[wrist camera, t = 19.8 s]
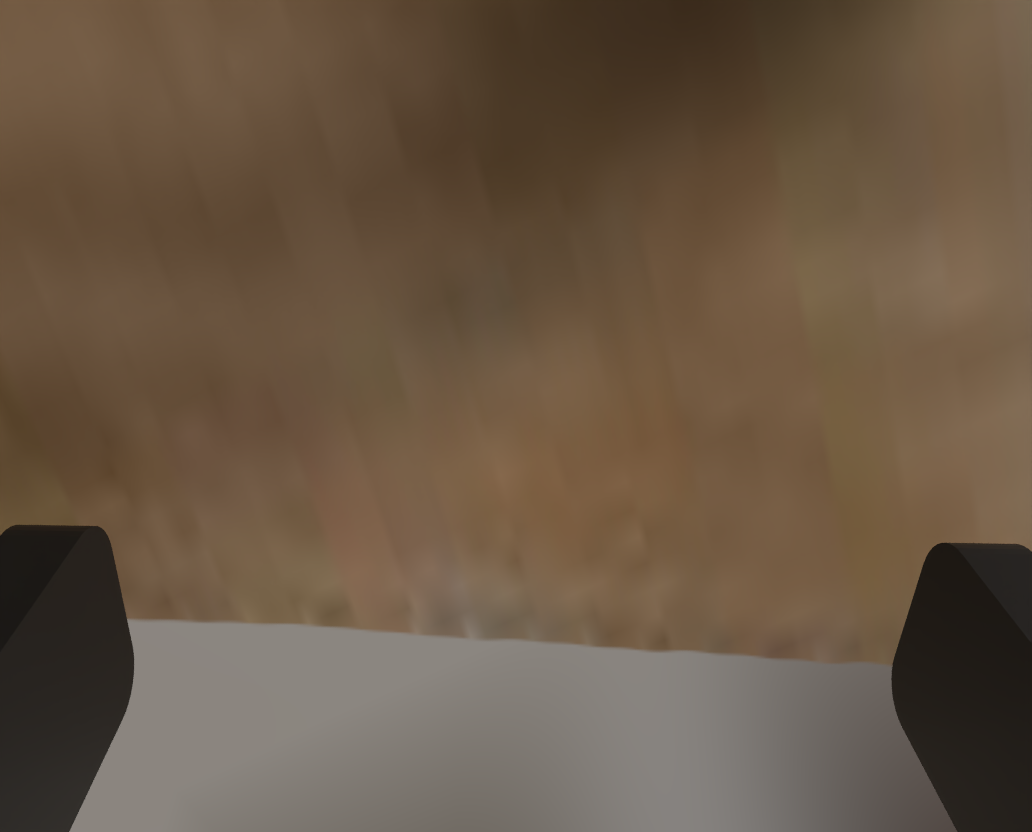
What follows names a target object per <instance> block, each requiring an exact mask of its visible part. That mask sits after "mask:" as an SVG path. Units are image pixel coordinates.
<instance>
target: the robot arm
mask: <svg viewBox="0 0 1032 832" xmlns="http://www.w3.org/2000/svg"><path fill="white" fill-rule="evenodd" d="M133 675H134V653H133V646H132V641H131V636H130V632H129V627H128V622H127V618H126V613H125V608H124V603H123V599H122V594H121V589H120V584H119V580H118V575H117V570H116V565H115V561H114V556H113V551H112V547H111V543H110V540H109V538H108V536H107V534H106V532H105V531H104V530H103V529H102V528H100V527H98V526H55V525H14V526H11V527H10V528H8V529H7V530H5V531H4V532H3V533H2V535H1V536H0V832H69V831H70V829H71V826H72V824H73V822H74V820H75V818H76V816H77V814H78V812H79V809H80V808H81V805H82V803H83V801H84V799H85V797H86V795H87V793H88V791H89V789H90V786H91V784H92V782H93V780H94V778H95V776H96V774H97V772H98V770H99V768H100V765H101V763H102V761H103V759H104V757H105V755H106V753H107V751H108V749H109V747H110V744H111V742H112V740H113V738H114V736H115V734H116V732H117V730H118V728H119V726H120V723H121V721H122V719H123V717H124V714H125V712H126V709H127V706H128V703H129V699H130V695H131V690H132V684H133ZM892 694H893V700H894V705H895V709H896V712H897V716H898V719H899V721H900V723H901V726H902V728H903V730H904V731H905V733H906V735H907V737H908V739H909V741H910V743H911V745H912V747H913V749H914V750H915V752H916V754H917V756H918V758H919V760H920V762H921V764H922V766H923V767H924V769H925V771H926V773H927V775H928V777H929V779H930V781H931V782H932V784H933V786H934V788H935V790H936V792H937V794H938V796H939V798H940V800H941V801H942V803H943V805H944V807H945V809H946V811H947V813H948V815H949V817H950V818H951V820H952V822H953V824H954V826H955V828H956V830H957V831H958V832H1032V552H1031V551H1030V550H1029V549H1028V548H1026V547H1024V546H1022V545H1019V544H982V543H940V544H937V545H936V546H934V547H933V548H932V549H931V550H930V552H929V553H928V555H927V557H926V559H925V562H924V564H923V567H922V571H921V574H920V577H919V580H918V583H917V587H916V590H915V593H914V596H913V599H912V603H911V606H910V609H909V612H908V615H907V619H906V622H905V625H904V628H903V631H902V635H901V638H900V641H899V644H898V647H897V651H896V654H895V657H894V661H893V667H892Z"/></svg>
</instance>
